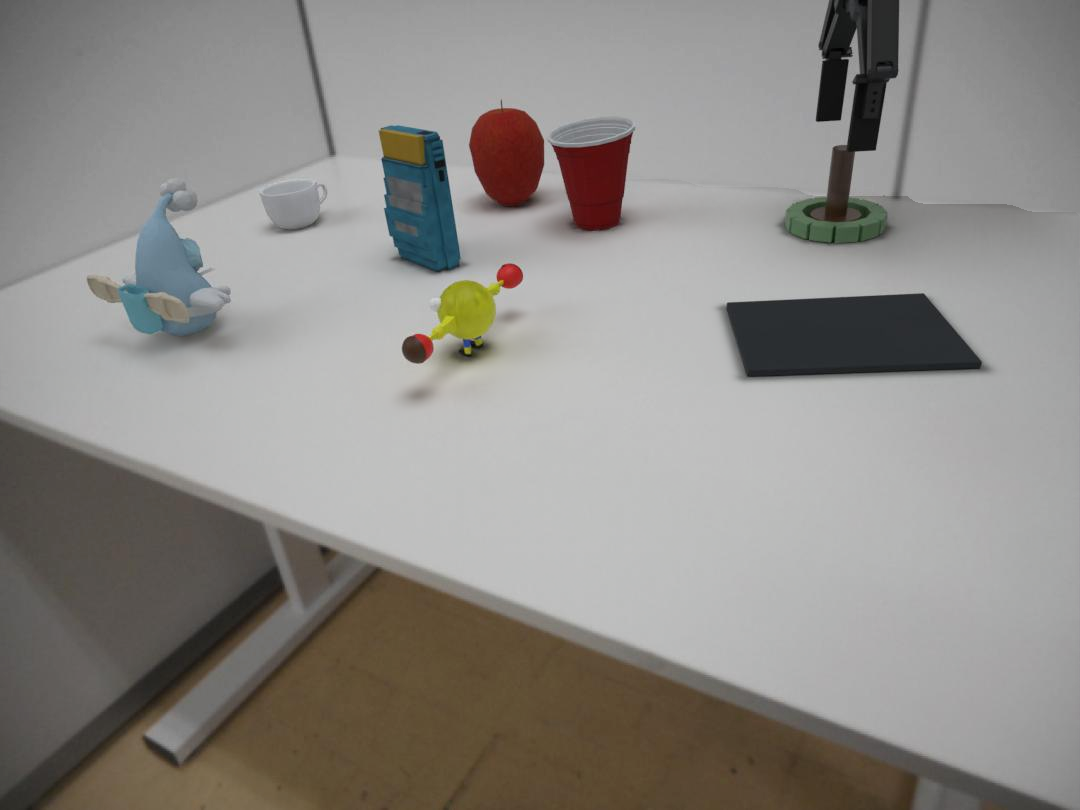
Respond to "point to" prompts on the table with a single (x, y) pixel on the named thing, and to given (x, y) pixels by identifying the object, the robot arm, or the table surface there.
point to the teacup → (292, 202)
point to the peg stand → (838, 189)
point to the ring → (836, 231)
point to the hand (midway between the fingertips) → (843, 134)
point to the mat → (846, 336)
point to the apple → (507, 155)
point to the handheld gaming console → (419, 197)
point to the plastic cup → (594, 167)
